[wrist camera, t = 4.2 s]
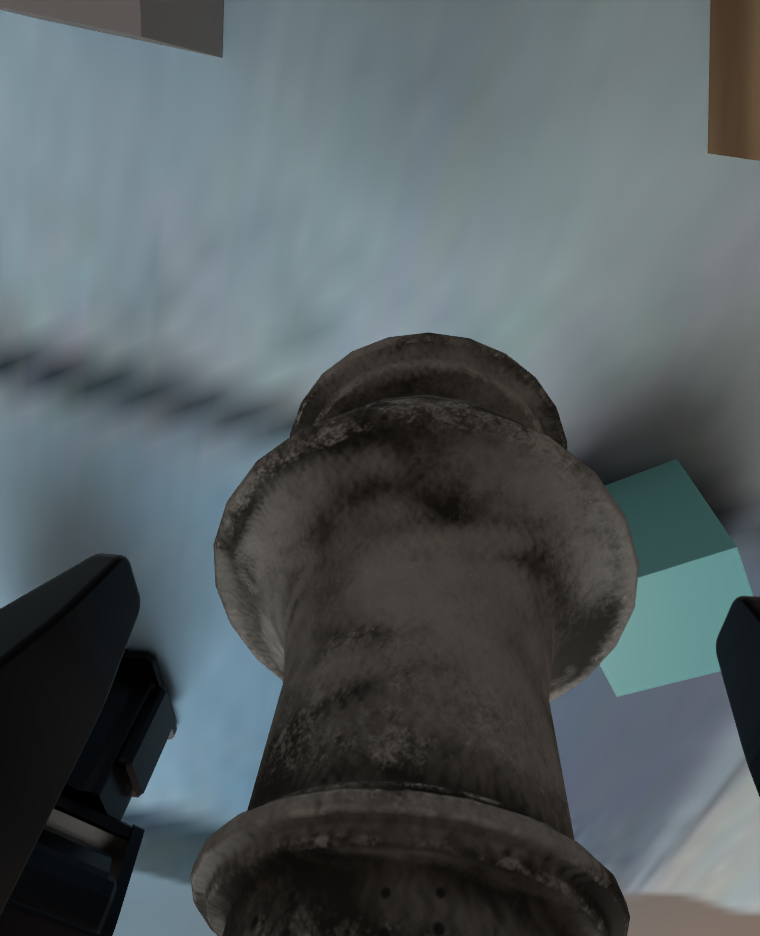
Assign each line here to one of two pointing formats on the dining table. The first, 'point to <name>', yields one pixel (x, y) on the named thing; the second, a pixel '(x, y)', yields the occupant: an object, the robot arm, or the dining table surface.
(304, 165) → the dining table surface
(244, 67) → the dining table surface
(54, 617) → the robot arm
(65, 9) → the grey cube
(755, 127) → the walnut block
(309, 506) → the salt shaker
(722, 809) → the dining table surface
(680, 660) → the teal block
